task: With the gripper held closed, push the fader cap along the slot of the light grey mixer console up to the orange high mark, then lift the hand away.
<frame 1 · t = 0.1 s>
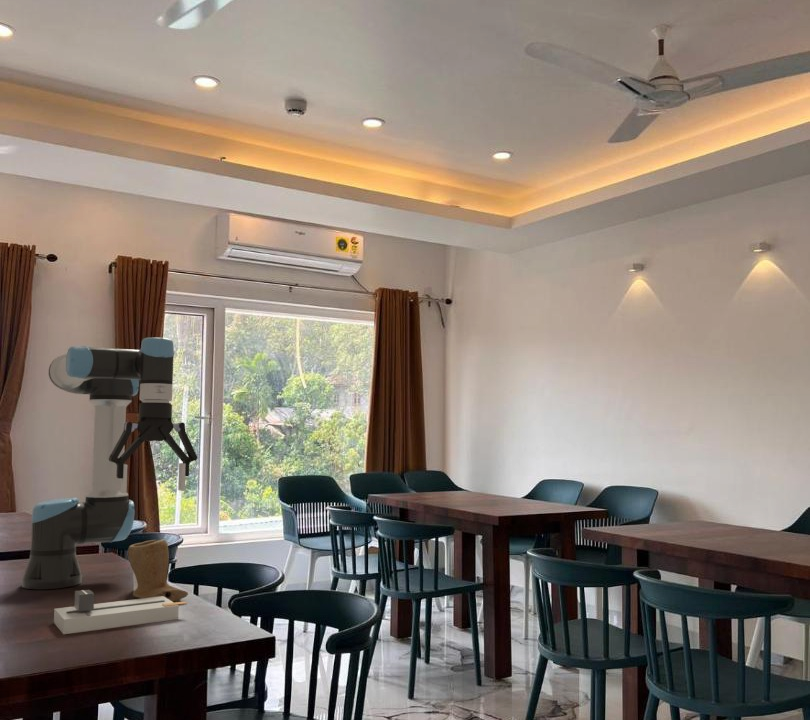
hand: (153, 491, 181), 28 cm above the table, fingers open, 13 cm apart
white cup: (146, 590, 205), on the table
tan boot: (154, 601, 192), on the table
mixer console: (116, 620, 171), on the table
fader knob: (84, 600, 168), point 5 cm above the table, slide at -7.0 cm
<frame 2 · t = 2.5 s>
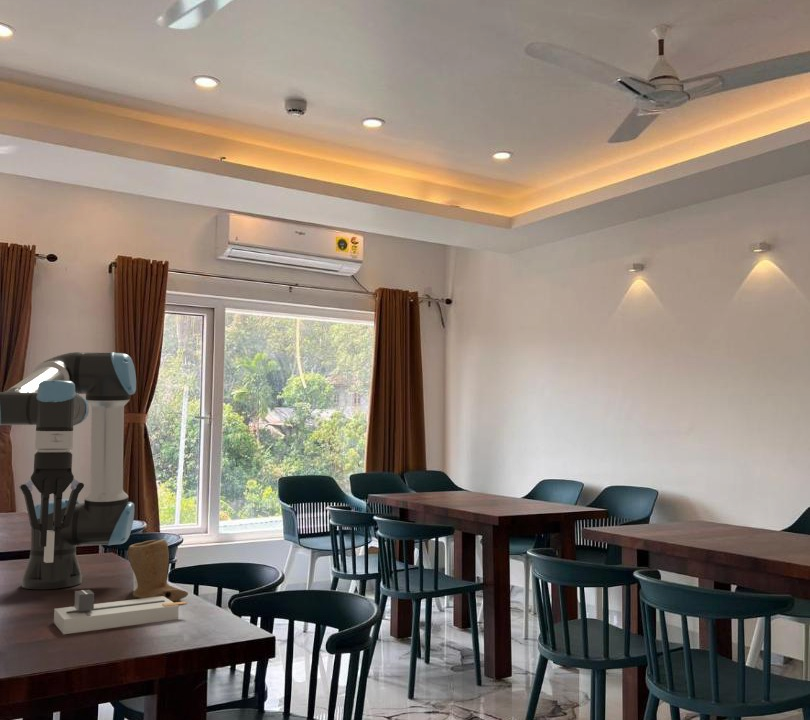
hand: (48, 561, 164), 14 cm above the table, fingers closed
nothing on the table moved.
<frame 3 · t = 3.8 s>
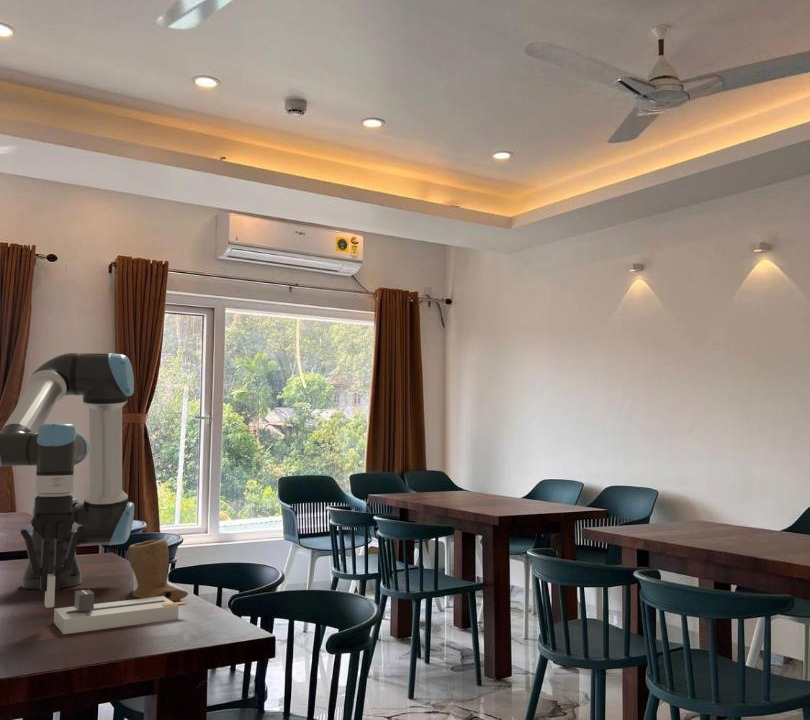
hand: (49, 606, 164), 5 cm above the table, fingers closed
nothing on the table moved.
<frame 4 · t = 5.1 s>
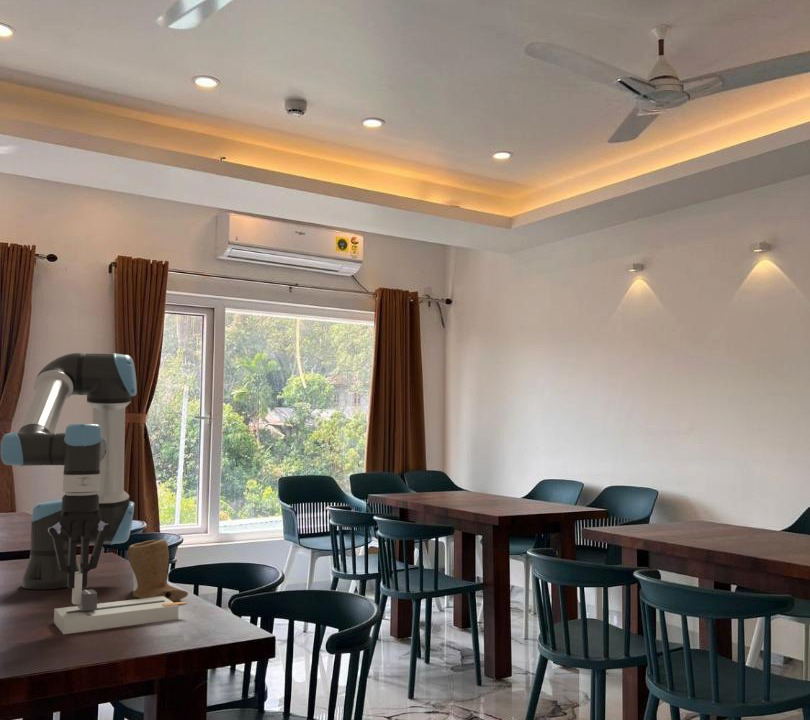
hand: (76, 603, 167), 5 cm above the table, fingers closed
fader knob: (87, 600, 168), point 5 cm above the table, slide at -6.3 cm, touching gripper
everything else where it was.
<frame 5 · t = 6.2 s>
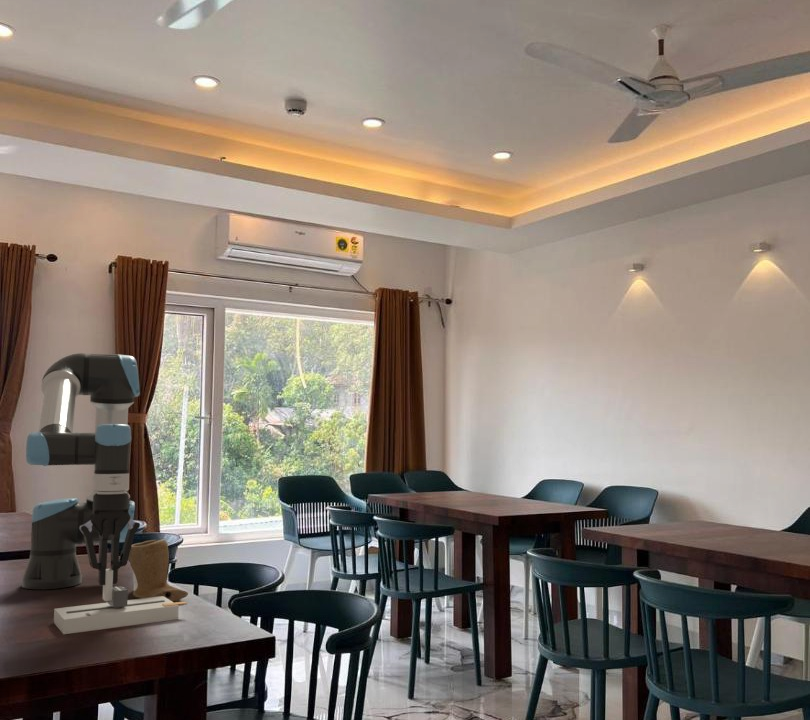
hand: (107, 599, 170), 5 cm above the table, fingers closed
fader knob: (117, 596, 171), point 5 cm above the table, slide at 0.1 cm, touching gripper
everything else where it was.
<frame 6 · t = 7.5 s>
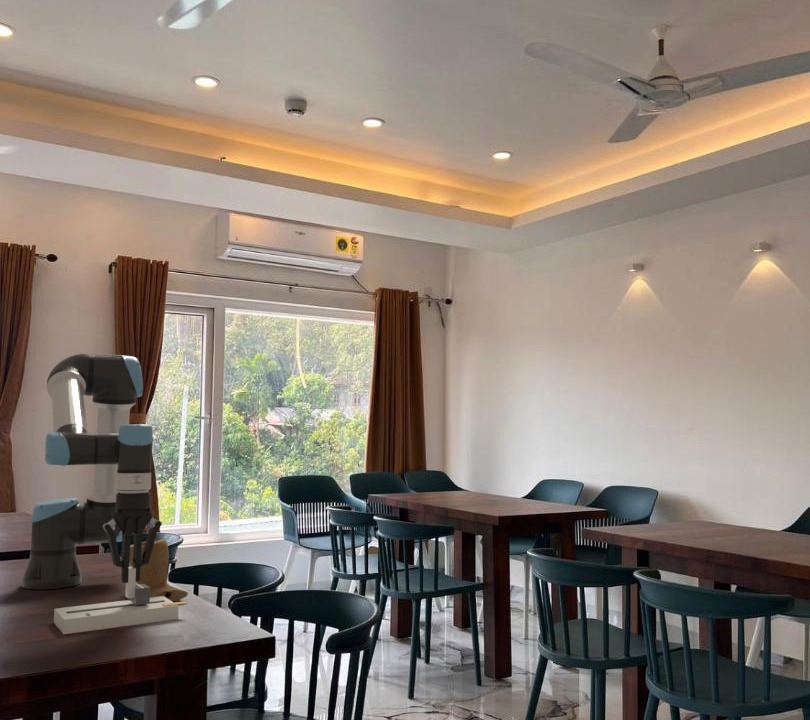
hand: (130, 596, 173), 5 cm above the table, fingers closed
fader knob: (140, 594, 174), point 5 cm above the table, slide at 5.0 cm, touching gripper
everything else where it was.
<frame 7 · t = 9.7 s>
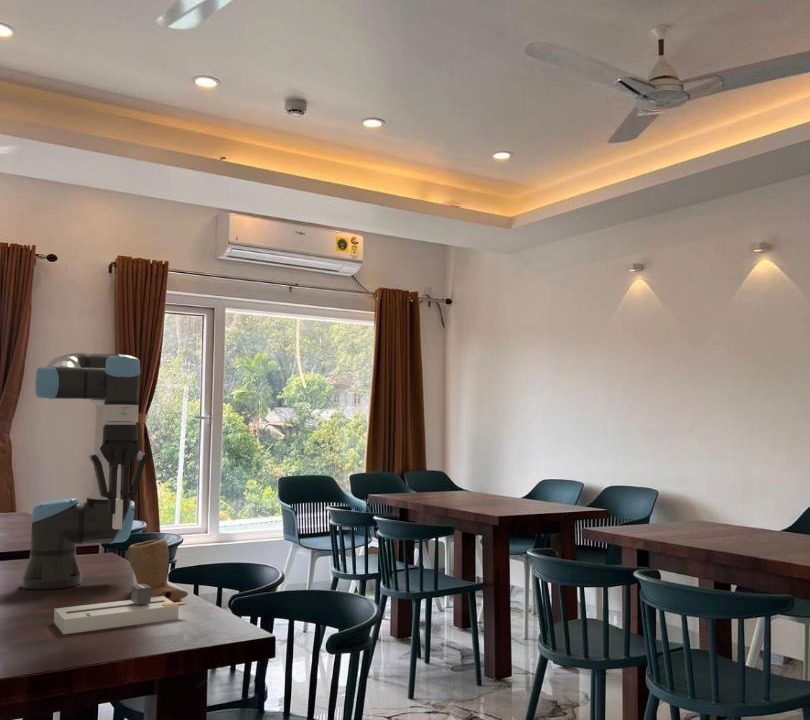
hand: (117, 528, 173), 20 cm above the table, fingers closed
fader knob: (141, 593, 174), point 5 cm above the table, slide at 5.2 cm
everything else where it was.
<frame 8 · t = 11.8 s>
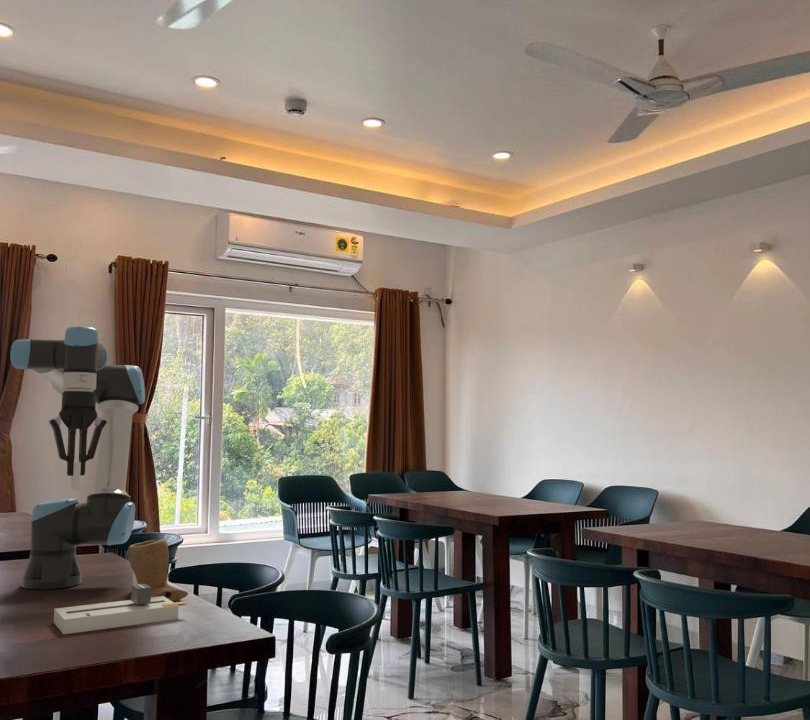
hand: (75, 489, 182), 28 cm above the table, fingers closed
nothing on the table moved.
at the end: fader knob slide at 5.2 cm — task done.
